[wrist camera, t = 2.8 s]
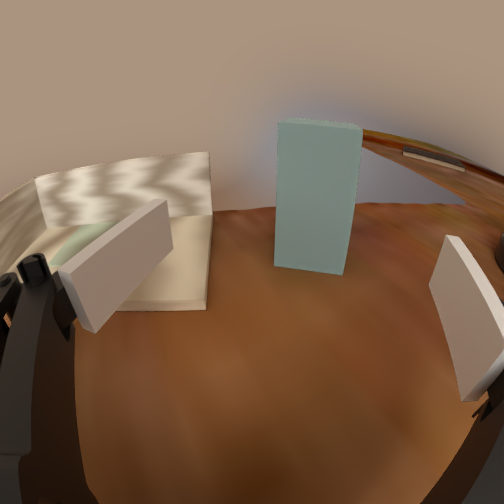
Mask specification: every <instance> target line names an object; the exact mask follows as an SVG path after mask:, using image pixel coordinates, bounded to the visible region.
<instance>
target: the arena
mask: <svg viewBox="0 0 504 504" xmlns="http://www.w3.org/2000/svg"><path fill="white" fill-rule="evenodd" d="M153 199H167V203H168V211H169V219H170V226H171V234H172V241H173V247H174V249H173V250H172V251H171V252H170V253H169V254H168V255H167V256H166V257H165V258H164V259H163V260H162V261H161V262H160V263H159V264H158V265H157V266H156V267H155V268H154V270H153V271H152V272H151V273H150V274H149V275H148V276H147V277H146V278H145V279H144V280H143V281H142V282H141V283H140V285H139V286H138V287H137V288H136V289H135V290H134V291H133V292H132V293H131V294H130V295H129V297H128V298H127V299H126V300H125V301H124V302H123V303H122V304H121V305H120V306H119V308H118V309H117V310H116V311H181V310H206V301H207V287H208V273H209V260H210V248H211V237H212V226H213V209H212V194H211V178H210V158H209V152H198V153H184V154H173V155H163V156H153V157H145V158H138V159H130V160H122V161H116V162H109V163H104V164H97V165H92V166H86V167H81V168H76V169H71V170H66V171H61V172H57V173H52V174H48V175H43V176H38V177H34V178H33V179H31V180H29V181H27V182H26V183H24V184H23V185H21V186H19V187H18V188H16V189H15V190H13V191H11V192H10V193H8V194H7V195H6V196H4V197H2V198H1V199H0V277H1V276H2V275H3V274H5V273H10V272H15V273H16V274H17V276H18V278H19V281H20V283H23V281H22V279H21V276H20V274H19V271H18V269H17V267H16V266H17V264H18V263H19V262H20V261H21V260H22V259H23V258H25V257H27V256H29V255H31V254H34V253H43V254H44V255H45V258H46V261H47V264H48V266H49V269H50V272H51V274H53V273H54V272H56V271H57V269H59V268H60V267H61V266H62V265H63V264H65V263H66V262H67V261H68V260H70V259H71V258H72V257H73V256H75V255H76V254H77V253H79V252H80V251H81V250H82V249H84V248H85V247H86V246H88V245H89V244H90V243H92V242H93V241H94V240H96V239H97V238H98V237H100V236H101V235H102V234H104V233H105V232H106V231H108V230H109V229H111V228H112V227H113V226H115V225H116V224H118V223H119V222H120V221H122V220H123V219H125V218H126V217H128V216H129V215H131V214H132V213H133V212H135V211H136V210H138V209H139V208H141V207H142V206H144V205H145V204H147V203H148V202H150V201H151V200H153Z"/></svg>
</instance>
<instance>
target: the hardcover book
mask: <svg viewBox="0 0 504 504" xmlns="http://www.w3.org/2000/svg"><path fill="white" fill-rule="evenodd" d="M403 155H404V156H409V157H413V158H417V159H420V160H424V161H428V162H432V163H435V164H439V165H442V166H446V167H449V168H452V169H455V170H459V171H462V172H464V171H465V168H466V167H465V166H464V165H463V164H462V163H461V162H460V161H459V160H456V159H453V158H449V157H446V156H442V155H439V154H435V153H432V152H428V151H424V150H420V149H416V148H412V147H408V146H404V148H403Z"/></svg>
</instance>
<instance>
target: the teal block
mask: <svg viewBox="0 0 504 504" xmlns="http://www.w3.org/2000/svg"><path fill="white" fill-rule="evenodd" d="M362 136H363V130H362V129H361V128H359V127H358V126H357V125H356V124H350V123H342V122H333V121H324V120H313V119H299V118H288V119H286V120H283V121H280V122H278V143H277V144H278V145H277V191H276V223H275V251H274V266H279V267H286V268H293V269H300V270H308V271H315V272H322V273H330V274H337V275H343V271H344V266H345V261H346V256H347V250H348V245H349V239H350V233H351V227H352V221H353V214H354V207H355V200H356V192H357V185H358V176H359V167H360V158H361V148H362Z"/></svg>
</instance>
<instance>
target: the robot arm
mask: <svg viewBox="0 0 504 504" xmlns="http://www.w3.org/2000/svg"><path fill="white" fill-rule="evenodd" d="M173 249H174V247H173V241H172V234H171V226H170V219H169V211H168V203H167V199H153V200H151V201H150V202H148V203H147V204H145V205H144V206H142V207H141V208H139V209H138V210H136V211H135V212H133V213H132V214H131V215H129V216H128V217H126V218H125V219H123V220H122V221H120V222H119V223H118V224H116V225H115V226H113V227H112V228H111V229H109V230H108V231H106V232H105V233H104V234H102V235H101V236H100V237H98V238H97V239H96V240H94V241H93V242H92V243H90V244H89V245H88V246H86V247H85V248H84V249H82V250H81V251H80V252H79V253H77V254H76V255H75V256H73V257H72V258H71V259H70V260H68V261H67V262H66V263H65V264H63V265H62V266H61V267H60V268H59V269H57V271H56V272H54V273H53V274H51V272H50V269H49V266H48V264H47V261H46V258H45V255H44V254H43V253H34V254H31V255H29V256H27V257H25V258H23V259H22V260H21V261H20V262H19V263H18V264H17V266H16V267H17V269H18V271H19V274H20V276H21V279H22V281H23V283H20V281H19V278H18V276H17V274H16V273H15V272H10V273H5V274H3V275H2V276H1V277H0V504H98V502H97V500H96V498H95V496H94V495H93V494H92V492H91V491H90V490H89V488H88V486H87V483H86V479H85V475H84V469H83V464H82V458H81V451H80V445H79V437H78V428H77V418H76V405H75V383H74V348H75V326H74V324H73V321H74V320H75V318H76V317H77V318H78V320H79V322H80V324H81V326H82V328H83V329H85V330H88V331H90V332H92V333H94V334H96V333H97V332H98V330H99V329H100V328H101V327H102V326H103V325H104V324H105V322H106V321H107V320H108V319H109V318H110V317H111V316H112V314H113V313H114V312H115V311H116V310H117V309H118V308H119V306H120V305H121V304H122V303H123V302H124V301H125V300H126V299H127V298H128V297H129V295H130V294H131V293H132V292H133V291H134V290H135V289H136V288H137V287H138V286H139V285H140V283H141V282H142V281H143V280H144V279H145V278H146V277H147V276H148V275H149V274H150V273H151V272H152V271H153V270H154V268H155V267H156V266H157V265H158V264H159V263H160V262H161V261H162V260H163V259H164V258H165V257H166V256H167V255H168V254H169V253H170V252H171V251H172V250H173ZM495 257H496V260H497V262H498V264H499V266H500V267H501V269H502V270H503V271H504V232H503V234H502V235H501V237H500V239H499V242H498V245H497V248H496V250H495ZM429 288H430V291H431V293H432V296H433V299H434V302H435V305H436V307H437V310H438V313H439V316H440V320H441V323H442V326H443V329H444V332H445V336H446V339H447V343H448V346H449V350H450V354H451V357H452V361H453V365H454V370H455V374H456V378H457V383H458V388H459V393H460V398H461V402H467V401H477V400H478V399H479V398H480V397H481V396H482V395H483V394H484V393H485V392H486V391H487V392H488V396H489V398H488V399H487V400H486V402H485V403H484V404H483V405H482V406H481V407H480V408H479V409H478V410H477V411H476V412H475V413H474V414H473V415H472V417H473V418H474V417H475V416H476V415H477V414H478V416H477V418H476V420H475V422H474V424H473V426H472V428H471V430H470V432H469V433H468V435H467V437H466V439H465V440H464V442H463V444H462V446H461V447H460V449H459V450H458V452H457V454H456V455H455V457H454V458H453V460H452V462H451V463H450V465H449V466H448V468H447V469H446V470H445V472H444V473H443V475H442V476H441V478H440V479H439V480H438V482H437V483H436V484H435V486H434V487H433V488H432V490H431V491H430V492H429V493H428V495H427V496H426V497H425V498H424V500H423V501H422V502H421V503H420V504H504V302H503V301H502V300H501V299H500V298H499V297H498V296H497V294H496V292H495V291H494V289H493V287H492V286H491V284H490V282H489V281H488V279H487V277H486V276H485V274H484V273H483V271H482V269H481V268H480V266H479V265H478V263H477V262H476V260H475V259H474V257H473V256H472V254H471V253H470V252H469V250H468V249H467V247H466V246H465V244H464V243H463V242H462V240H461V239H460V238H459V237H456V236H451V235H446V236H445V239H444V242H443V246H442V249H441V252H440V255H439V258H438V261H437V263H436V266H435V269H434V272H433V275H432V277H431V280H430V282H429ZM5 314H7V315H8V317H9V319H10V321H11V322H12V323H11V326H10V328H9V327H8V325H7V324H6V322H5V320H4V319H3V317H4V316H5Z"/></svg>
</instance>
